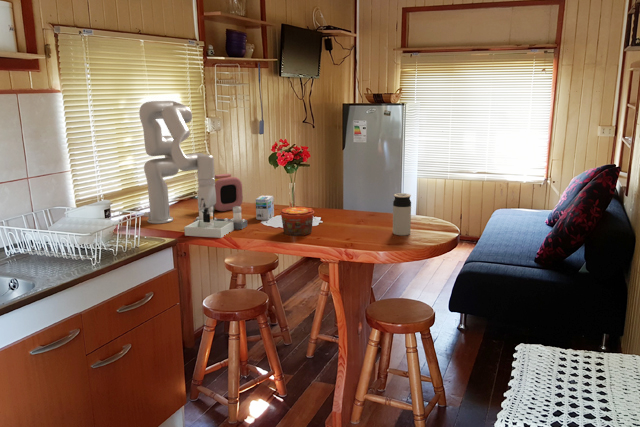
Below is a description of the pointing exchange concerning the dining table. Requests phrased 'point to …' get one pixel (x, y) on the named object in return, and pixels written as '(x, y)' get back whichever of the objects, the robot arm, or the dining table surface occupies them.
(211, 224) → the marked fuse
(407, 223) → the travel mug
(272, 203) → the light bulb box
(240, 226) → the fuse block
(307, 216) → the food container
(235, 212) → the right fuse
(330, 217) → the dining table surface
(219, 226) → the tray
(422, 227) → the dining table surface
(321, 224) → the dining table surface
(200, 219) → the left fuse
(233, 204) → the alarm clock
